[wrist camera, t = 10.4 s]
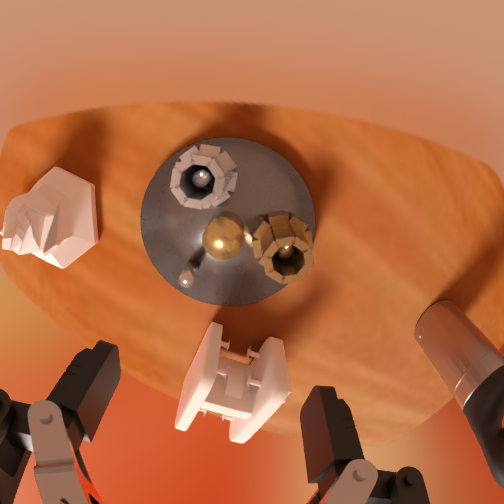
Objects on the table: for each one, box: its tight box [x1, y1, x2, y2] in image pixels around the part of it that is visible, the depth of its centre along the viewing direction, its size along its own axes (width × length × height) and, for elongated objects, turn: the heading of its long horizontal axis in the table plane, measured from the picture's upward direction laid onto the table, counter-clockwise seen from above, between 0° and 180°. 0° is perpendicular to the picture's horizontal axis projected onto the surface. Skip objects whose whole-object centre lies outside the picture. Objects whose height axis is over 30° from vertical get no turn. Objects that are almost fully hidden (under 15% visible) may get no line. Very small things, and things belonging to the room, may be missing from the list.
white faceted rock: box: [0, 166, 99, 269], centre depth 25 cm, size 12×15×14 cm
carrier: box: [141, 137, 315, 306], centre depth 29 cm, size 20×20×6 cm
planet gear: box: [170, 144, 238, 210], centre depth 26 cm, size 6×6×6 cm
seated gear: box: [251, 211, 313, 284], centre depth 28 cm, size 6×6×6 cm
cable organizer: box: [175, 322, 291, 443], centre depth 34 cm, size 15×11×12 cm
